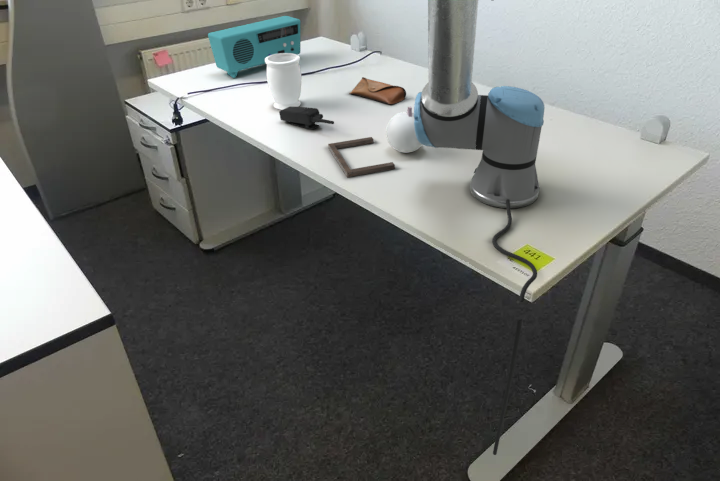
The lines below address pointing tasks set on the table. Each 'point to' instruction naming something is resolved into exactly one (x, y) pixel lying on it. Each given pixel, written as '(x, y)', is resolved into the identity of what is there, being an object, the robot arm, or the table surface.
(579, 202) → the table surface
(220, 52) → the radio
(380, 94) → the sunglasses case
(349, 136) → the table surface
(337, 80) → the table surface
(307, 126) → the walkie-talkie
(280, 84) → the jar
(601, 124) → the table surface
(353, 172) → the bay
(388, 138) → the ornament
